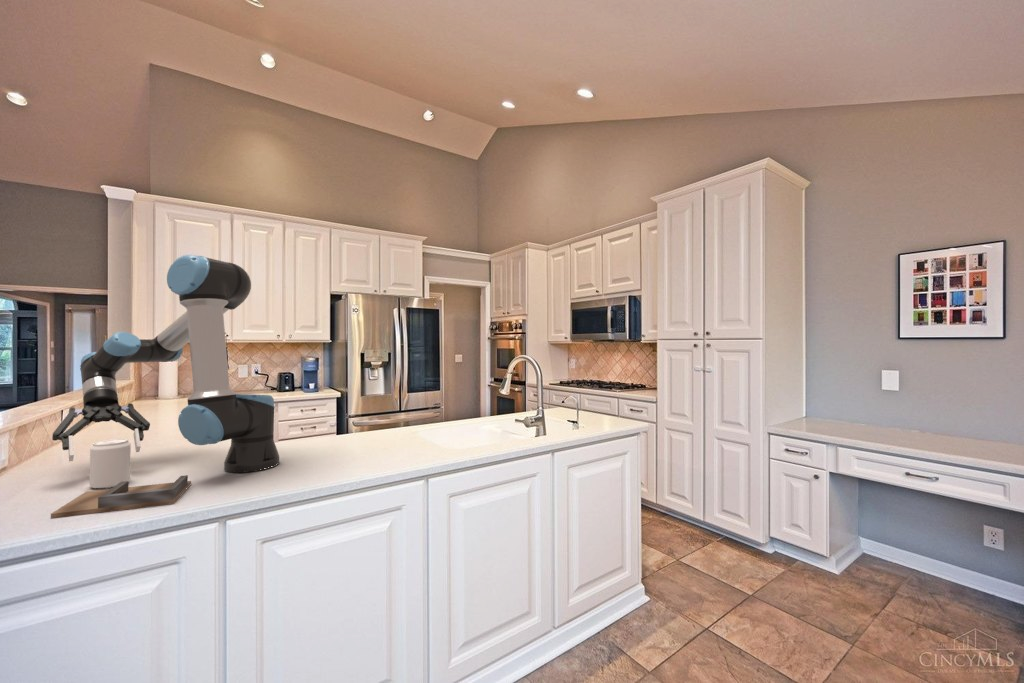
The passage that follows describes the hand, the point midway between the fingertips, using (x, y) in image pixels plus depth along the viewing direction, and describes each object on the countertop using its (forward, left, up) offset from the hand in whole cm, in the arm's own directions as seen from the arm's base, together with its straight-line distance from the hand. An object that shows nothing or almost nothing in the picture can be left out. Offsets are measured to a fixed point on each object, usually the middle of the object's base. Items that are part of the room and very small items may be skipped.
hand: (106, 453), depth 119 cm
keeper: (-11, +19, -8) cm, 23 cm away
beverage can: (-2, +3, -8) cm, 9 cm away
